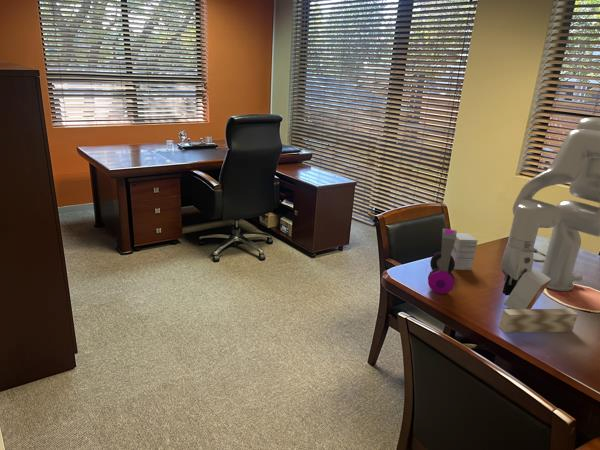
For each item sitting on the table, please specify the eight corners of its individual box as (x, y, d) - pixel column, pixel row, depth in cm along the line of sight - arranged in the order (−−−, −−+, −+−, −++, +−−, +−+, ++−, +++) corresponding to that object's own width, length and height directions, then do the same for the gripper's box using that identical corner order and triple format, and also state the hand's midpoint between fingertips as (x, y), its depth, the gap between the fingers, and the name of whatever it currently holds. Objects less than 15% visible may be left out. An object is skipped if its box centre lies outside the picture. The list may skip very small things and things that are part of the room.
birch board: (565, 325, 137) (570, 308, 134) (572, 331, 134) (577, 314, 132) (498, 326, 134) (503, 309, 132) (504, 332, 131) (508, 314, 129)
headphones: (452, 298, 149) (463, 242, 142) (425, 292, 152) (434, 238, 145) (452, 273, 168) (462, 223, 161) (428, 269, 170) (437, 219, 164)
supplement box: (446, 261, 178) (451, 232, 174) (463, 262, 179) (469, 232, 174) (453, 269, 171) (459, 239, 167) (471, 270, 172) (478, 239, 167)
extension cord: (547, 252, 196) (548, 248, 195) (548, 265, 183) (549, 260, 182) (516, 246, 201) (518, 242, 200) (516, 258, 187) (517, 253, 187)
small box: (520, 317, 140) (542, 285, 133) (502, 304, 144) (522, 273, 137) (531, 309, 145) (552, 278, 139) (513, 297, 149) (533, 266, 142)
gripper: (546, 252, 135) (532, 305, 141) (518, 234, 149) (506, 283, 155) (523, 251, 134) (509, 305, 140) (497, 234, 148) (486, 283, 154)
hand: (508, 294), depth 147 cm, fingers closed
